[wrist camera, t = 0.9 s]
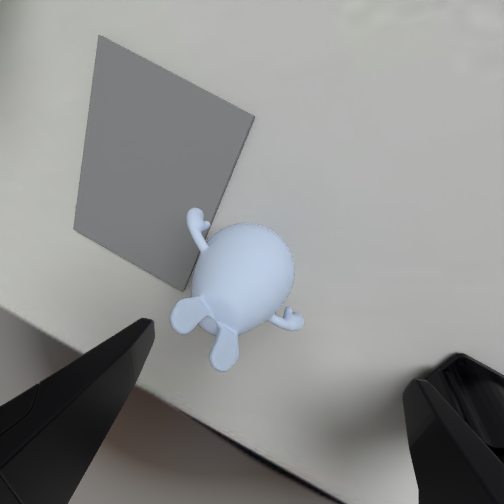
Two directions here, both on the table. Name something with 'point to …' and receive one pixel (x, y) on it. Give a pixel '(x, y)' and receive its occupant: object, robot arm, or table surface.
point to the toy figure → (236, 286)
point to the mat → (153, 161)
